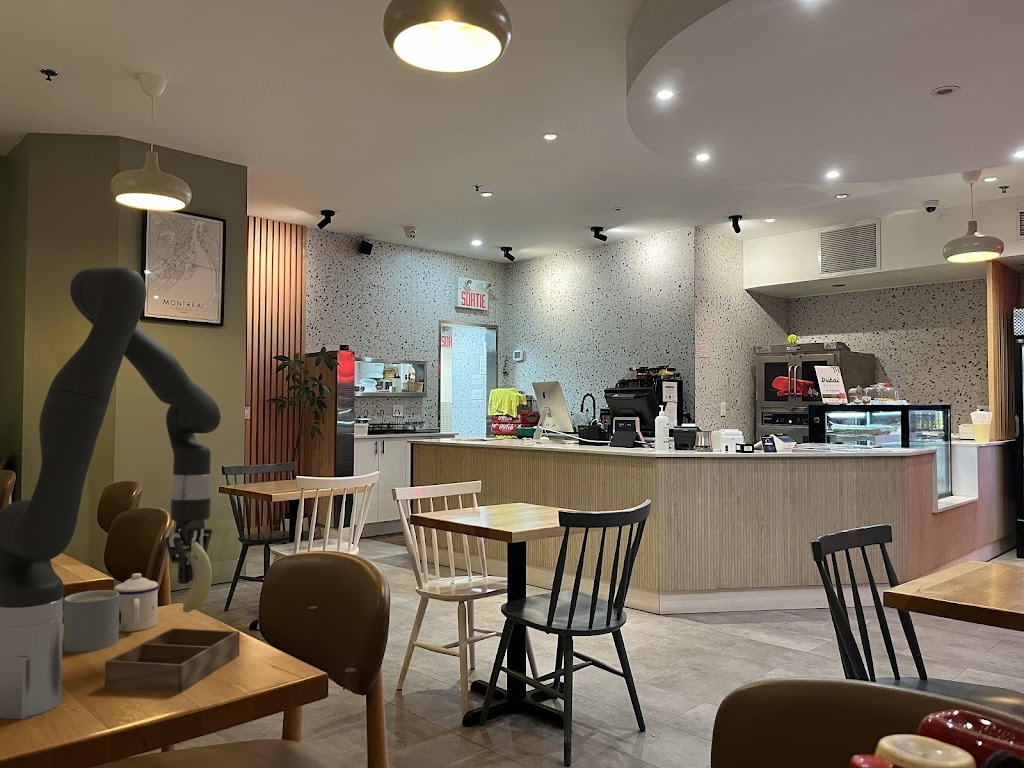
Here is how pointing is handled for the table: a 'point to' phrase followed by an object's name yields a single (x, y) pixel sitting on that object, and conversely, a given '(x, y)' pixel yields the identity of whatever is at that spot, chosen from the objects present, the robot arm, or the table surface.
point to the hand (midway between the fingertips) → (188, 581)
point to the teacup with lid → (137, 603)
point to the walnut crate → (172, 660)
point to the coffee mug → (91, 621)
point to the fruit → (198, 578)
